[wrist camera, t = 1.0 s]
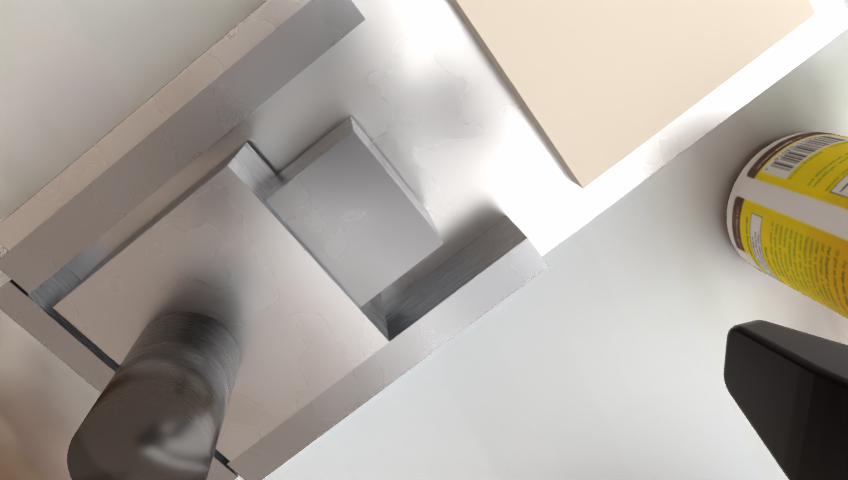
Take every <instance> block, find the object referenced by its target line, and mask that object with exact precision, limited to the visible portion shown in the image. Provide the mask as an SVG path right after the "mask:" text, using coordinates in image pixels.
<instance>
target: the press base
mask: <svg viewBox="0 0 848 480" xmlns="http://www.w3.org/2000/svg"><path fill="white" fill-rule="evenodd" d="M810 2H811V5H812V7H813V9H814V11H815V13H816V14H815V15H813V16H812V17H811V18H809V19H808V20H807V21H805V22H804V23H803V24H801V25H800V26H799V27H797V28H796V29H795V30H793V31H792V32H791V33H789V34H788V35H787V36H785V37H784V38H783V39H781V40H780V41H779V42H777V43H776V44H775V45H773V46H772V47H771V48H769V49H768V50H767V51H766V52H764V53H763V54H762V55H760V56H759V57H758V58H756V59H755V60H754V61H752V62H751V63H750V64H748V65H747V66H746V67H744V68H743V69H742V70H740V71H739V72H738V73H736V74H735V75H734V76H732V77H731V78H730V79H728V80H727V81H726V82H724V83H723V84H722V85H720V86H719V87H718V88H716V89H715V90H714V91H712V92H711V93H710V94H708V95H707V96H706V97H705V98H703V99H702V100H701V101H699V102H698V103H697V104H695V105H694V106H693V107H691V108H690V109H689V110H687V111H686V112H685V113H683V114H682V115H681V116H679V117H678V118H677V119H675V120H674V121H673V122H671V123H670V124H669V125H667V126H666V127H665V128H663V129H662V130H661V131H659V132H658V133H657V134H655V135H654V136H653V137H651V138H650V139H649V140H648V141H646V142H645V143H644V144H642V145H641V146H640V147H638V148H637V149H636V150H634V151H633V152H632V153H630V154H629V155H628V156H626V157H625V158H624V159H622V160H621V161H620V162H618V163H617V164H616V165H614V166H613V167H612V168H610V169H609V170H608V171H606V172H605V173H604V174H602V175H601V176H600V177H598V178H597V179H596V180H594V181H593V182H592V183H590V184H589V185H588V186H587V187H585V188H584V189H583V188H581V187H580V186H578V185H577V184H575V183H574V182H573V180H572V179H571V177H570V176H569V174H568V173H567V171H566V170H565V168H564V167H563V165H562V164H561V162H560V161H559V160H558V158H557V157H556V155H555V154H554V152H553V151H552V149H551V148H550V146H549V145H548V143H547V142H546V140H545V139H544V137H543V136H542V134H541V133H540V132H539V130H538V129H537V127H536V126H535V124H534V123H533V121H532V120H531V118H530V117H529V115H528V114H527V112H526V111H525V109H524V108H523V106H522V105H521V104H520V102H519V101H518V99H517V98H516V96H515V95H514V93H513V92H512V90H511V89H510V87H509V86H508V84H507V83H506V81H505V80H504V78H503V77H502V76H501V74H500V73H499V71H498V70H497V68H496V67H495V65H494V64H493V62H492V61H491V59H490V58H489V56H488V55H487V53H486V52H485V51H484V49H483V48H482V46H481V45H480V43H479V42H478V40H477V39H476V37H475V36H474V34H473V33H472V31H471V30H470V28H469V27H468V25H467V24H466V23H465V21H464V20H463V18H462V17H461V15H460V14H459V12H458V11H457V9H456V8H455V6H454V5H453V3H452V2H451V0H267V1H265V2H264V3H263V4H262V5H261V6H260V7H258V8H257V9H256V10H255V11H254V12H252V13H251V14H250V15H249V16H248V17H246V18H245V19H244V20H243V21H242V22H240V23H239V24H238V25H237V26H236V27H234V28H233V29H232V30H231V31H230V32H228V33H227V34H226V35H225V36H224V37H222V38H221V39H220V40H219V41H218V42H217V43H215V44H214V45H213V46H212V47H211V48H209V49H208V50H207V51H206V52H205V53H203V54H202V55H201V56H200V57H199V58H197V59H196V60H195V61H194V62H193V63H191V64H190V65H189V66H188V67H187V68H185V69H184V70H183V71H182V72H181V73H180V74H178V75H177V76H176V77H175V78H174V79H172V80H171V81H170V82H169V83H168V84H166V85H165V86H164V87H163V88H162V89H160V90H159V91H158V92H157V93H156V94H154V95H153V96H152V97H151V98H150V99H148V100H147V101H146V102H145V103H144V104H142V105H141V106H140V107H139V108H138V109H137V110H135V111H134V112H133V113H132V114H131V115H129V116H128V117H127V118H126V119H125V120H123V121H122V122H121V123H120V124H119V125H117V126H116V127H115V128H114V129H113V130H111V131H110V132H109V133H108V134H107V135H105V136H104V137H103V138H102V139H101V140H100V141H98V142H97V143H96V144H95V145H94V146H92V147H91V148H90V149H89V150H88V151H86V152H85V153H84V154H83V155H82V156H80V157H79V158H78V159H77V160H76V161H74V162H73V163H72V164H71V165H70V166H68V167H67V168H66V169H65V170H64V171H62V172H61V173H60V174H59V175H58V176H57V177H55V178H54V179H53V180H52V181H51V182H49V183H48V184H47V185H46V186H45V187H43V188H42V189H41V190H40V191H39V192H37V193H36V194H35V195H34V196H33V197H31V198H30V199H29V200H28V201H27V202H25V203H24V204H23V205H22V206H21V207H20V208H18V209H17V210H16V211H15V212H14V213H12V214H11V215H10V216H9V217H8V218H6V219H5V220H4V221H3V222H2V223H0V244H1V245H2V246H4V247H5V248H6V249H7V250H8V252H7V253H6V254H4V255H3V256H2V257H1V258H0V269H1V270H2V271H3V272H4V273H5V274H6V275H8V276H9V277H10V278H11V280H10V281H9V282H8V283H6V284H5V285H4V286H3V287H2V288H0V309H1V310H2V311H4V312H5V313H6V314H7V315H8V316H10V317H11V318H12V319H13V320H14V321H16V322H17V323H18V324H19V325H20V326H21V327H23V328H24V329H25V330H26V331H27V332H29V333H30V334H31V335H32V336H33V337H35V338H36V339H37V340H38V341H39V342H41V343H42V344H43V345H44V346H45V347H47V348H48V349H49V350H50V351H51V352H53V353H54V354H55V355H56V356H57V357H59V358H60V359H61V360H62V361H63V362H65V363H66V364H67V365H68V366H69V367H71V368H72V369H73V370H74V371H75V372H77V373H78V374H79V375H80V376H81V377H83V378H84V379H85V380H86V381H87V382H89V383H90V384H91V385H92V386H93V387H95V388H96V389H97V390H98V391H99V392H100V393H102V392H103V390H104V389H105V387H106V386H107V384H108V383H109V381H110V380H111V378H112V377H113V375H114V374H115V372H116V370H117V369H118V367H119V366H120V365H118V364H117V363H116V362H115V361H114V360H113V359H112V358H110V357H109V356H108V355H107V354H106V353H105V352H103V351H102V350H101V349H100V348H99V347H98V346H97V345H95V344H94V343H93V342H92V341H91V340H90V339H88V338H87V337H86V336H85V335H84V334H83V333H82V332H80V331H79V330H78V329H77V328H76V327H75V326H73V325H72V324H71V323H70V322H69V321H68V320H67V319H65V318H64V317H63V316H62V315H61V314H60V313H58V312H57V311H56V310H55V309H54V308H53V307H54V306H55V305H56V304H57V303H58V302H59V301H60V300H61V299H62V298H63V297H64V296H65V295H66V294H67V293H68V292H69V291H70V290H71V289H72V288H73V287H74V286H75V285H76V284H78V283H79V282H80V281H81V280H82V279H83V278H84V277H85V276H86V275H87V274H88V273H89V272H90V271H91V270H92V269H93V268H94V267H95V266H96V265H97V264H98V263H99V262H100V261H101V260H103V259H104V258H105V257H106V256H108V255H109V254H110V253H111V252H113V251H114V250H115V249H116V248H117V247H119V246H120V245H121V244H122V243H124V242H125V241H126V240H127V239H129V238H130V237H131V236H132V235H133V234H135V233H136V232H137V231H138V230H140V229H141V228H142V227H143V226H144V225H146V224H147V223H148V222H149V221H151V220H152V219H153V218H154V217H156V216H157V215H158V214H159V213H160V212H162V211H163V210H164V209H165V208H167V207H168V206H169V205H170V204H172V203H173V202H174V201H175V200H176V199H178V198H179V197H180V196H181V195H183V194H184V193H185V192H186V191H188V190H189V189H190V188H191V187H192V186H194V185H195V184H196V183H197V182H199V181H200V180H201V179H202V178H204V177H205V176H206V175H207V174H208V173H210V172H211V171H212V170H213V169H215V168H216V167H217V166H218V165H220V164H221V163H222V162H223V161H224V160H226V159H227V158H228V157H229V156H231V155H232V154H233V153H234V152H236V151H237V150H238V149H239V148H240V147H242V146H243V145H244V144H245V143H248V144H249V145H250V146H251V147H252V148H253V150H254V151H255V152H256V153H257V154H258V155H259V156H260V158H261V159H262V160H263V161H264V162H265V163H266V164H267V165H268V167H269V168H270V169H271V170H272V171H273V172H274V173H275V174H276V175H278V174H279V173H280V172H281V171H283V170H284V169H285V168H286V167H288V166H289V165H290V164H291V163H293V162H294V161H295V160H296V159H298V158H299V157H300V156H301V155H303V154H304V153H305V152H306V151H307V150H309V149H310V148H311V147H312V146H314V145H315V144H316V143H317V142H319V141H320V140H321V139H322V138H324V137H325V136H326V135H327V134H329V133H330V132H331V131H332V130H334V129H335V128H336V127H337V126H339V125H340V124H341V123H342V122H344V121H345V120H346V119H347V118H349V117H350V116H351V117H352V118H353V119H354V120H355V122H356V123H357V124H358V125H359V127H360V128H361V129H362V130H363V132H364V133H365V134H366V135H367V137H368V138H369V139H370V140H371V142H372V143H373V144H374V145H375V147H376V148H377V149H378V150H379V152H380V153H381V154H382V155H383V157H384V158H385V159H386V160H387V162H388V163H389V164H390V165H391V167H392V168H393V169H394V170H395V172H396V173H397V174H398V175H399V177H400V178H401V179H402V180H403V182H404V183H405V184H406V185H407V187H408V188H409V189H410V190H411V192H412V193H413V194H414V195H415V197H416V198H417V199H418V200H419V202H420V203H421V204H422V205H423V207H424V208H425V209H426V210H427V212H428V213H429V215H430V216H431V218H432V220H433V222H434V224H435V226H436V228H437V230H438V232H439V234H440V236H441V238H442V240H443V242H444V244H443V245H441V246H440V247H439V248H437V249H436V250H435V251H433V252H432V253H431V254H429V255H428V256H427V257H426V258H424V259H423V260H422V261H420V262H419V263H418V264H416V265H415V266H414V267H412V268H411V269H410V270H409V271H407V272H406V273H405V274H403V275H402V276H401V277H399V278H398V279H397V280H395V281H394V282H393V283H392V284H390V285H389V286H388V287H386V288H385V289H384V290H382V291H381V292H380V293H381V296H382V301H383V307H384V313H385V319H386V325H387V330H388V336H389V343H388V344H386V345H385V346H384V347H382V348H381V349H380V350H378V351H377V352H376V353H374V354H373V355H372V356H370V357H369V358H368V359H366V360H365V361H364V362H362V363H361V364H360V365H358V366H357V367H356V368H354V369H353V370H352V371H350V372H349V373H348V374H346V375H345V376H344V377H342V378H341V379H340V380H338V381H337V382H336V383H335V384H333V385H332V386H331V387H329V388H328V389H327V390H325V391H324V392H323V393H321V394H320V395H319V396H317V397H316V398H315V399H313V400H312V401H311V402H309V403H308V404H307V405H305V406H304V407H303V408H301V409H300V410H299V411H297V412H296V413H295V414H293V415H292V416H291V417H289V418H288V419H287V420H285V421H284V422H283V423H281V424H280V425H279V426H277V427H276V428H275V429H273V430H272V431H271V432H269V433H268V434H267V435H265V436H264V437H263V438H261V439H260V440H259V441H257V442H256V443H255V444H253V445H252V446H251V447H250V448H248V449H247V450H246V451H244V452H243V453H242V454H240V455H239V456H238V457H236V458H235V459H234V460H232V461H229V460H228V459H227V458H226V457H225V456H224V455H222V454H221V453H220V452H219V451H218V450H217V449H215V452H214V456H213V459H212V463H211V466H210V470H209V473H208V476H207V479H206V480H234V479H236V478H237V477H238V474H239V475H240V476H241V477H242V478H243V479H244V480H262V479H263V478H265V477H266V476H267V475H269V474H270V473H271V472H273V471H274V470H275V469H277V468H278V467H279V466H281V465H282V464H283V463H285V462H286V461H287V460H289V459H290V458H291V457H293V456H294V455H295V454H297V453H298V452H300V451H301V450H302V449H304V448H305V447H306V446H308V445H309V444H310V443H312V442H313V441H314V440H316V439H317V438H318V437H320V436H321V435H322V434H324V433H325V432H326V431H328V430H329V429H330V428H332V427H333V426H334V425H336V424H337V423H338V422H340V421H341V420H342V419H344V418H345V417H347V416H348V415H349V414H351V413H352V412H353V411H355V410H356V409H357V408H359V407H360V406H361V405H363V404H364V403H365V402H367V401H368V400H369V399H371V398H372V397H373V396H375V395H376V394H377V393H379V392H380V391H381V390H383V389H384V388H385V387H387V386H388V385H389V384H391V383H392V382H394V381H395V380H396V379H398V378H399V377H400V376H402V375H403V374H404V373H406V372H407V371H408V370H410V369H411V368H412V367H414V366H415V365H416V364H418V363H419V362H420V361H422V360H423V359H424V358H426V357H427V356H428V355H430V354H431V353H432V352H434V351H435V350H436V349H438V348H439V347H441V346H442V345H443V344H445V343H446V342H447V341H449V340H450V339H451V338H453V337H454V336H455V335H457V334H458V333H459V332H461V331H462V330H463V329H465V328H466V327H467V326H469V325H470V324H471V323H473V322H474V321H475V320H477V319H478V318H479V317H481V316H482V315H483V314H485V313H486V312H488V311H489V310H490V309H492V308H493V307H494V306H496V305H497V304H498V303H500V302H501V301H502V300H504V299H505V298H506V297H508V296H509V295H510V294H512V293H513V292H514V291H516V290H517V289H518V288H520V287H521V286H522V285H524V284H525V283H526V282H528V281H529V280H530V279H532V278H533V277H534V276H536V275H537V274H539V273H540V272H541V271H543V270H544V269H545V268H547V267H548V265H547V263H546V262H545V261H544V259H543V258H542V256H544V255H545V254H546V253H548V252H549V251H550V250H552V249H553V248H554V247H556V246H557V245H558V244H560V243H561V242H562V241H564V240H565V239H566V238H568V237H569V236H570V235H572V234H573V233H574V232H576V231H577V230H578V229H580V228H581V227H582V226H584V225H585V224H586V223H588V222H589V221H590V220H592V219H593V218H595V217H596V216H597V215H599V214H600V213H601V212H603V211H604V210H605V209H607V208H608V207H609V206H611V205H612V204H613V203H615V202H616V201H617V200H619V199H620V198H621V197H623V196H624V195H625V194H627V193H628V192H629V191H631V190H632V189H633V188H635V187H636V186H637V185H639V184H640V183H641V182H643V181H644V180H645V179H647V178H648V177H649V176H651V175H652V174H653V173H655V172H656V171H657V170H659V169H660V168H661V167H663V166H664V165H665V164H667V163H668V162H669V161H671V160H672V159H673V158H675V157H676V156H677V155H679V154H680V153H681V152H683V151H684V150H685V149H687V148H688V147H690V146H691V145H692V144H694V143H695V142H696V141H698V140H699V139H700V138H702V137H703V136H704V135H706V134H707V133H708V132H710V131H711V130H712V129H714V128H715V127H716V126H718V125H719V124H720V123H722V122H723V121H724V120H726V119H727V118H728V117H730V116H731V115H732V114H734V113H735V112H736V111H738V110H739V109H740V108H742V107H743V106H744V105H746V104H747V103H748V102H750V101H751V100H752V99H754V98H755V97H756V96H758V95H759V94H760V93H762V92H763V91H764V90H766V89H767V88H768V87H770V86H771V85H772V84H774V83H775V82H776V81H778V80H779V79H780V78H782V77H783V76H785V75H786V74H787V73H789V72H790V71H791V70H793V69H794V68H795V67H797V66H798V65H799V64H801V63H802V62H803V61H805V60H806V59H807V58H809V57H810V56H811V55H813V54H814V53H815V52H817V51H818V50H819V49H821V48H822V47H823V46H825V45H826V44H827V43H829V42H830V41H831V40H833V39H834V38H835V37H837V36H838V35H839V34H841V33H842V32H843V31H845V30H846V29H847V28H848V10H847V8H846V6H845V3H844V1H843V0H810Z"/></svg>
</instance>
